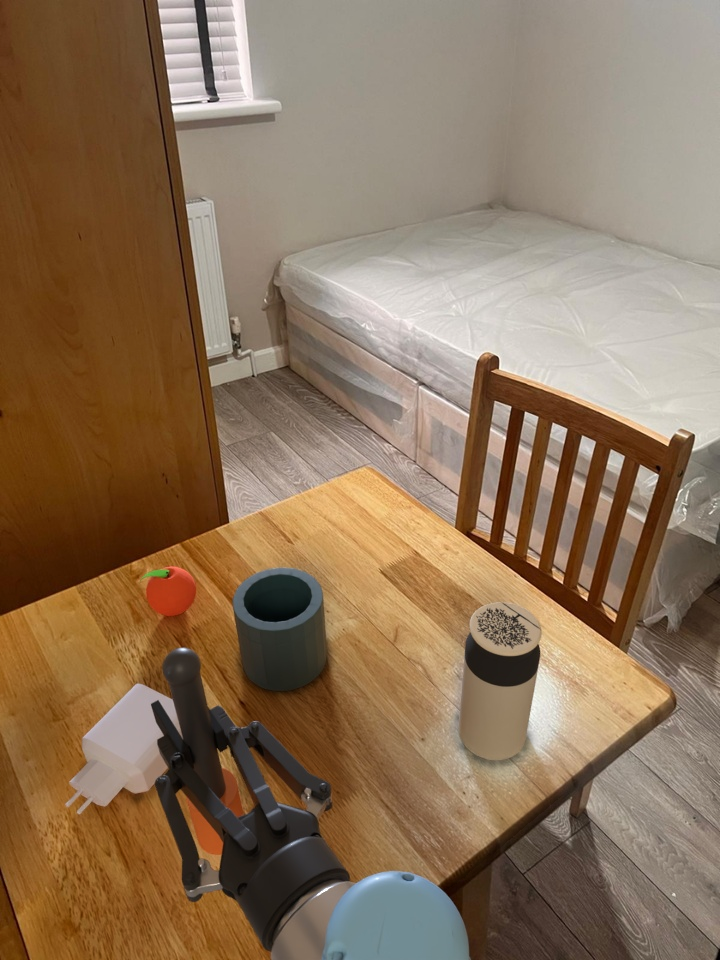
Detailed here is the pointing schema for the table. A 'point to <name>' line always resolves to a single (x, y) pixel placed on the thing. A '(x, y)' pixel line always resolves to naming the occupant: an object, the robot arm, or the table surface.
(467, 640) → the travel mug
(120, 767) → the charger
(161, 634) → the table surface
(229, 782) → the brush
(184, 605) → the clementine
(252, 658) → the dark grey pipe sleeve
